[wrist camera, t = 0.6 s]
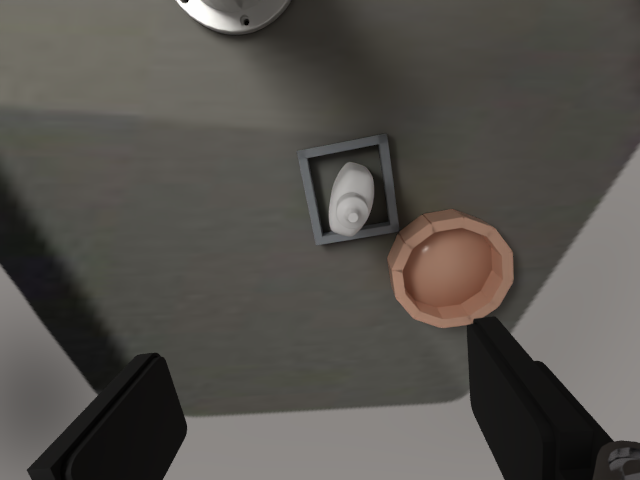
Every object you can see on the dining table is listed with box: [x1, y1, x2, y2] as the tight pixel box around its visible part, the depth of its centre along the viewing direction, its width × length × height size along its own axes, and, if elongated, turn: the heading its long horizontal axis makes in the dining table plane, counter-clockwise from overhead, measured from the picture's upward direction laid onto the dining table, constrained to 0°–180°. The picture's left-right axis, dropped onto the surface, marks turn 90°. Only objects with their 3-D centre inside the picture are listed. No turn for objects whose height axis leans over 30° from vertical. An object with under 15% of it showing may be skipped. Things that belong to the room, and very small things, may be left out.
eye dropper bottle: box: [329, 162, 374, 237], centre depth 29 cm, size 4×6×12 cm
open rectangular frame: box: [297, 133, 400, 245], centre depth 34 cm, size 10×9×2 cm
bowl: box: [387, 209, 514, 328], centre depth 35 cm, size 11×11×4 cm
